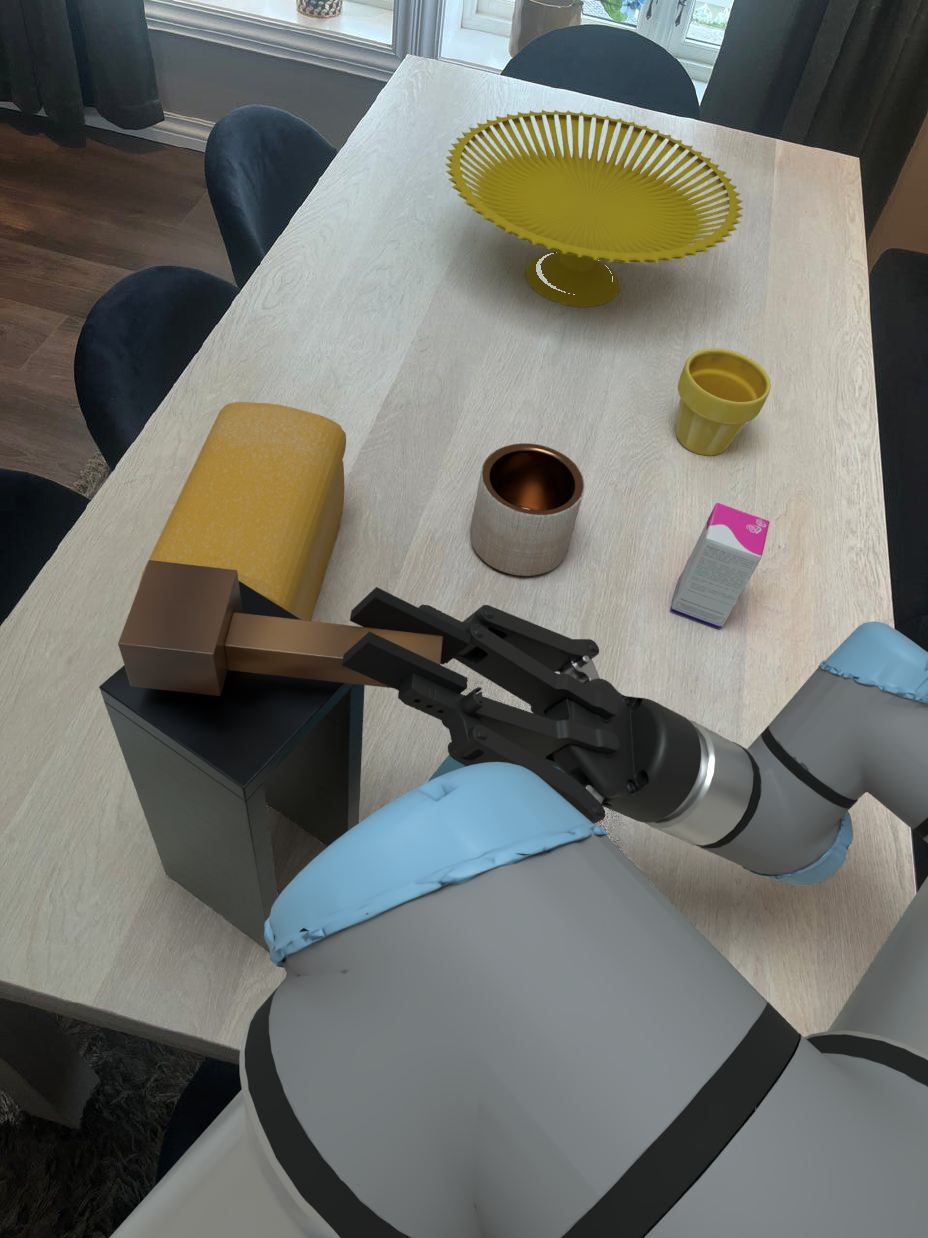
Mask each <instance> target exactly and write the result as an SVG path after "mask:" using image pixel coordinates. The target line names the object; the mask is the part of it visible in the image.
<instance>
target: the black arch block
mask: <svg viewBox="0 0 928 1238" xmlns="http://www.w3.org/2000/svg"><path fill="white" fill-rule="evenodd" d="M239 588H240V596H241V604H242V613H243V614H252V615H261V616H270V617H279V618H288V619H296V620H301V619H300V618H298V617H296V616H295V615H293V614H292V613H290V612H288V611H287V610H285V609H284V608H282V607H280V606H279V605H277V604H276V603H274V602H272V601H271V600H269V599H268V598H266V597H264V596H263V595H261V594H260V593H258V592H256V591H255V590H253V589H252V588H250V587H248V586H247V585H245V584H244V583H242V582H240V581H239ZM365 686H366V685H360V684H351V683H341V682H332V681H323V680H314V679H305V678H296V677H287V676H278V675H269V674H260V673H251V672H242V671H233V670H227V674H226V678H225V681H224V685H223V689H222V693H221V696H215V695H206V694H197V693H188V692H178V691H169V690H160V689H151V688H142V687H132V686H131V685H130V682H129V679H128V675H127V672H126V669H125V665H124V664H123V665H122V666H121V667H120V668H118V670H116V671H115V672H114V673H113V674H111V676H109V678H107V679H106V680H105V681H104V682H103V683H101V684H100V685H99V687H98V688H99V691H100V694H101V697H102V700H103V702H104V705H105V708H106V712H107V714H108V717H109V719H110V722H111V725H112V728H113V730H114V734H115V736H116V739H117V741H118V744H119V747H120V750H121V752H122V755H123V758H124V761H125V764H126V767H127V770H128V773H129V775H130V778H131V780H132V783H133V786H134V789H135V792H136V795H137V798H138V800H139V804H140V806H141V809H142V811H143V814H144V817H145V820H146V822H147V825H148V828H149V831H150V834H151V836H152V839H153V842H154V845H155V848H156V850H157V854H158V856H159V858H160V861H161V865H162V867H163V870H164V873H165V875H167V876H168V877H170V878H171V880H173V881H175V882H176V883H177V884H179V885H180V886H181V887H183V888H184V889H185V890H187V892H189V893H191V894H192V895H193V896H194V897H196V898H197V899H198V900H200V901H201V902H202V903H204V904H205V905H206V906H207V907H209V908H211V909H212V910H213V911H214V912H216V913H217V914H218V915H220V916H221V917H222V918H223V919H225V920H226V921H227V922H229V923H230V924H232V926H234V927H235V928H237V929H238V930H239V931H241V932H242V933H243V934H245V935H246V936H247V937H248V938H250V939H251V940H252V941H254V942H255V943H256V944H258V945H259V946H260V947H262V948H263V949H264V950H265V951H267V952H268V953H270V949H269V946H268V945H267V943H266V941H265V938H264V931H265V926H264V925H265V922H266V920H267V919H268V918H269V916H270V913H271V908H272V906H273V904H274V903H275V901H276V900H277V898H278V896H279V893H278V885H277V877H276V872H275V870H276V869H275V862H274V853H273V847H272V839H271V832H270V831H271V830H270V823H269V817H268V807H267V805H268V806H270V807H271V808H273V809H274V810H276V811H277V812H279V813H280V814H282V815H283V816H284V817H286V818H287V819H289V820H290V821H291V822H293V823H294V824H296V825H297V826H298V827H300V828H302V829H303V830H305V831H306V832H307V833H309V834H310V835H311V836H313V837H314V838H316V839H317V840H318V841H320V842H322V843H323V844H324V845H326V846H327V847H328V846H329V845H331V844H332V843H333V842H334V841H335V840H337V839H338V838H339V837H341V836H342V835H343V834H345V833H346V832H347V831H349V830H350V829H351V828H353V827H354V826H355V825H357V824H358V823H360V807H361V806H360V805H361V804H360V802H361V779H362V758H363V755H362V753H363V736H364V735H363V733H364V732H363V731H364V712H365V711H364V709H365V690H366V689H365Z"/></svg>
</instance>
